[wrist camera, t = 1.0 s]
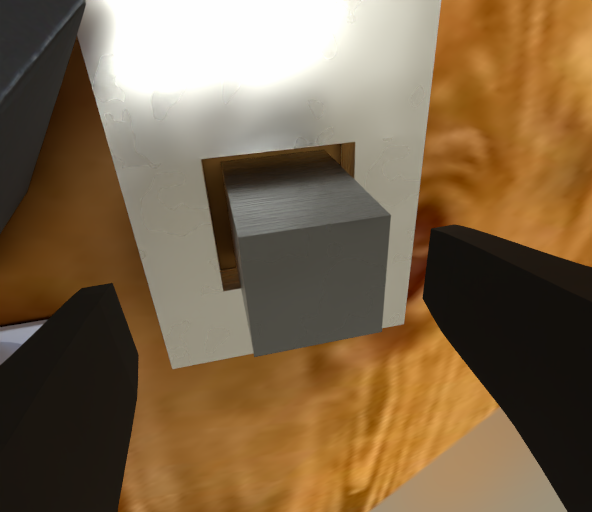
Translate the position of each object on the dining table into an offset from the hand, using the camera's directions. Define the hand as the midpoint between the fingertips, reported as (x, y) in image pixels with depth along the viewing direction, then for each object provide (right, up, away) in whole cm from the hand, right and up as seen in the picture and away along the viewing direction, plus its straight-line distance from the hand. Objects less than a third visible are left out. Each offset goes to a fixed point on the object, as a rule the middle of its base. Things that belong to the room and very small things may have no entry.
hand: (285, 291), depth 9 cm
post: (-1, +3, +9) cm, 10 cm away
